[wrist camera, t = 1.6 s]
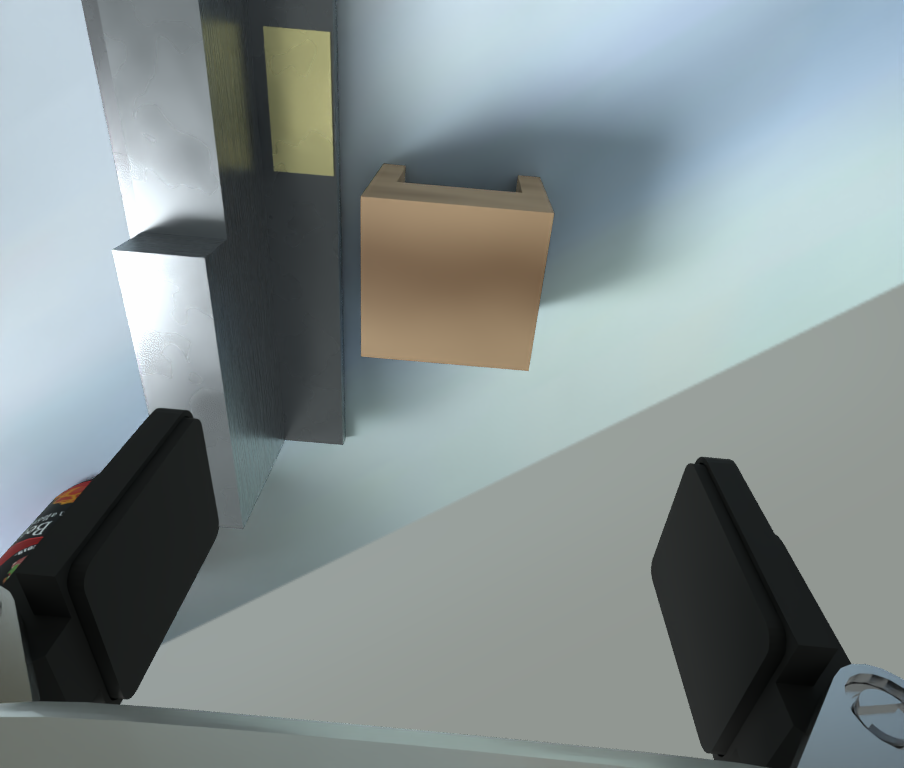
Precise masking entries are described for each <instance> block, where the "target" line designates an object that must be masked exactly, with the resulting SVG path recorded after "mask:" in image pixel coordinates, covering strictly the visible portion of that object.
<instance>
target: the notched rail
mask: <svg viewBox="0 0 904 768" xmlns="http://www.w3.org/2000/svg"><path fill="white" fill-rule="evenodd" d="M81 1H82V6H83V11H84V16H85V21H86V25H87V30H88V35H89V40H90V45H91V50H92V55H93V59H94V64H95V69H96V74H97V79H98V84H99V89H100V93H101V98H102V103H103V108H104V113H105V118H106V123H107V127H108V132H109V137H110V142H111V147H112V152H113V157H114V162H115V166H116V171H117V176H118V181H119V186H120V191H121V196H122V200H123V205H124V210H125V215H126V220H127V225H128V230H129V234H130V239H129V240H128V241H126V242H125V243H123V244H121V245H120V246H118V247H116V248H115V249H113V250H112V252H113V257H114V261H115V265H116V270H117V274H118V279H119V283H120V288H121V292H122V297H123V301H124V306H125V310H126V315H127V319H128V324H129V328H130V332H131V337H132V341H133V346H134V350H135V355H136V359H137V364H138V368H139V373H140V377H141V382H142V386H143V390H144V395H145V399H146V404H147V408H148V413H149V415H150V414H151V413H152V412H153V411H154V410H155V409H156V408H169V409H180V410H188V411H190V412H191V413H192V415H193V418H196V419H199V420H200V421H201V423H202V428H203V433H204V439H205V444H206V450H207V456H208V461H209V467H210V473H211V478H212V484H213V490H214V495H215V501H216V507H217V512H218V518H219V527H229V528H241V529H243V528H244V526H245V524H246V522H247V520H248V518H249V516H250V513H251V511H252V509H253V507H254V505H255V503H256V501H257V499H258V497H259V494H260V492H261V490H262V488H263V486H264V484H265V482H266V480H267V477H268V475H269V473H270V471H271V469H272V467H273V465H274V463H275V460H276V458H277V456H278V454H279V452H280V450H281V448H282V446H283V444H284V441H285V440H293V441H305V442H316V443H328V444H340V445H343V443H344V440H345V407H344V359H343V311H342V262H341V214H340V165H339V117H338V69H337V20H336V0H81Z"/></svg>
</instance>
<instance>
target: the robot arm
mask: <svg viewBox="0 0 904 768" xmlns="http://www.w3.org/2000/svg"><path fill="white" fill-rule="evenodd" d="M218 529H219V518H218V512H217V507H216V501H215V495H214V490H213V484H212V478H211V473H210V467H209V461H208V456H207V450H206V444H205V439H204V433H203V428H202V423H201V421H200V420H199V419H196V418H193V415H192V413H191V412H190V411H188V410H180V409H169V408H156V409H155V410H154V411H153V412H152V413H151V414H150V415H149V417H148V418H147V419H146V420H145V421H144V422H143V424H142V425H141V426H140V427H139V428H138V429H137V431H136V432H135V433H134V434H133V435H132V436H131V438H130V439H129V440H128V441H127V442H126V444H125V445H124V446H123V447H122V448H121V449H120V451H119V452H118V453H117V454H116V455H115V456H114V458H113V459H112V460H111V461H110V462H109V463H108V465H107V466H106V467H105V468H104V469H103V470H102V472H101V473H100V474H98V475H97V476H96V477H95V478H94V479H93V480H92V481H91V482H90V483H89V484H88V485H87V487H86V488H85V489H84V490H83V491H82V492H81V494H80V495H79V496H78V497H77V498H76V499H75V501H74V502H73V503H72V504H71V505H70V506H69V508H68V509H67V510H66V511H65V512H64V513H63V515H62V516H61V517H60V518H59V519H58V520H57V522H56V523H55V524H54V525H53V526H52V527H51V529H50V530H49V531H48V532H47V533H46V534H45V536H44V537H43V538H42V539H41V540H40V541H39V543H38V544H37V545H36V546H35V547H34V548H33V550H32V551H31V552H30V553H29V554H28V555H27V557H26V558H25V559H24V560H23V561H22V562H21V564H20V565H19V566H18V567H17V568H16V569H15V571H14V572H13V573H12V574H11V575H10V576H9V578H8V579H7V580H6V581H5V582H4V583H3V585H2V586H0V768H904V680H903V679H901V678H900V677H898V676H896V675H894V674H892V673H890V672H888V671H885V670H884V669H881V668H877V667H874V666H870V665H866V664H851V662H850V661H849V659H848V657H847V655H846V654H845V652H844V650H843V648H842V647H841V645H840V643H839V641H838V639H837V638H836V636H835V634H834V632H833V631H832V629H831V627H830V625H829V623H828V622H827V620H826V618H825V616H824V615H823V613H822V611H821V609H820V607H819V606H818V604H817V602H816V600H815V599H814V597H813V595H812V593H811V592H810V590H809V588H808V586H807V584H806V583H805V581H804V579H803V577H802V576H801V574H800V572H799V570H798V568H797V567H796V565H795V563H794V561H793V560H792V558H791V556H790V554H789V553H788V551H787V549H786V547H785V545H784V544H783V542H782V541H781V540H780V538H779V537H778V536H777V535H775V534H774V532H773V530H772V529H771V526H770V525H769V523H768V521H767V519H766V517H765V516H764V514H763V512H762V511H761V509H760V507H759V505H758V503H757V501H756V500H755V498H754V496H753V494H752V492H751V491H750V489H749V487H748V486H747V483H746V482H745V480H744V478H743V476H742V474H741V473H740V471H739V469H738V467H737V466H736V464H735V463H734V461H732V460H730V459H719V458H709V457H700V458H699V459H697V461H696V462H695V464H691V463H690V464H688V465H687V466H686V468H685V471H684V474H683V476H682V479H681V482H680V485H679V488H678V490H677V493H676V496H675V498H674V501H673V504H672V507H671V510H670V512H669V515H668V518H667V521H666V524H665V526H664V529H663V532H662V535H661V537H660V540H659V543H658V546H657V549H656V551H655V554H654V557H653V560H652V566H651V574H652V580H653V584H654V587H655V590H656V594H657V597H658V601H659V604H660V607H661V611H662V614H663V617H664V621H665V624H666V628H667V631H668V635H669V638H670V641H671V645H672V648H673V651H674V655H675V658H676V662H677V665H678V669H679V672H680V675H681V679H682V682H683V686H684V689H685V692H686V696H687V699H688V703H689V706H690V709H691V713H692V716H693V720H694V723H695V726H696V730H697V733H698V737H699V740H700V743H701V746H702V748H703V749H704V751H705V752H706V753H711V754H713V758H714V760H709V759H701V758H692V757H683V756H674V755H666V754H658V753H649V752H639V751H630V750H619V749H608V748H599V747H589V746H579V745H569V744H557V743H548V742H537V741H528V740H518V739H507V738H497V737H486V736H476V735H465V734H454V733H444V732H432V731H422V730H412V729H401V728H390V727H379V726H368V725H357V724H346V723H335V722H324V721H312V720H302V719H290V718H279V717H268V716H256V715H245V714H233V713H221V712H210V711H199V710H187V709H174V708H161V707H146V706H132V705H120V703H121V702H122V700H123V699H130V698H131V697H132V696H133V695H134V694H135V692H136V690H137V689H138V687H139V685H140V683H141V681H142V679H143V677H144V675H145V673H146V671H147V669H148V668H149V666H150V664H151V662H152V660H153V658H154V656H155V654H156V652H157V650H158V649H159V647H160V645H161V643H162V641H163V639H164V637H165V635H166V633H167V631H168V629H169V627H170V626H171V624H172V622H173V620H174V618H175V616H176V614H177V612H178V610H179V608H180V606H181V605H182V603H183V601H184V599H185V597H186V595H187V593H188V591H189V589H190V587H191V585H192V583H193V582H194V580H195V578H196V576H197V574H198V572H199V570H200V568H201V566H202V564H203V562H204V560H205V559H206V557H207V555H208V553H209V551H210V549H211V547H212V545H213V543H214V541H215V539H216V537H217V534H218Z"/></svg>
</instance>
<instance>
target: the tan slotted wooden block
mask: <svg viewBox="0 0 904 768" xmlns="http://www.w3.org/2000/svg"><path fill="white" fill-rule="evenodd" d="M405 169H406V166H405V165H394V164H383V165H382V167H381V168H380V170H379V171H378V172H377V174H376V175H375V177H374V178H373V179H372V181H371V182H370V184H369V185H368V187H367V188H366V189H365V191H364V192H363V194H362V195H361V357H373V358H384V359H396V360H408V361H419V362H431V363H443V364H455V365H466V366H478V367H490V368H501V369H513V370H525V371H529V365H530V359H531V352H532V346H533V340H534V334H535V328H536V322H537V316H538V310H539V303H540V297H541V291H542V285H543V279H544V273H545V267H546V260H547V254H548V248H549V242H550V236H551V230H552V224H553V217H554V212H553V209H552V206H551V204H550V201H549V199H548V196H547V194H546V191H545V189H544V186H543V184H542V181H541V179H540V177H532V176H520V175H518V179H517V186H516V192H508V191H496V190H485V189H473V188H462V187H450V186H438V185H427V184H415V183H405Z"/></svg>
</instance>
